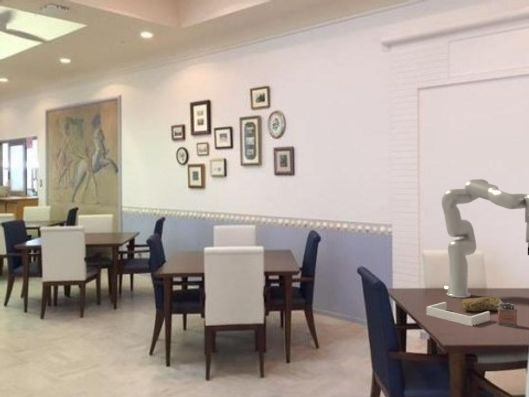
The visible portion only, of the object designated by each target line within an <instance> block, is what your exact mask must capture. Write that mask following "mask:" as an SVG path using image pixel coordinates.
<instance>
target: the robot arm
mask: <svg viewBox="0 0 529 397" xmlns="http://www.w3.org/2000/svg"><path fill="white" fill-rule="evenodd" d="M479 198H481V199H484V200H486V201H488V202H489V201H490V202H491V203H492V204H494V205H496V206H499V207H502V208H505V209H507V210H519V209H524V211H525V212H524V222H525V223H526V226H525V227H526V229H525V243H527V256H529V194H526V193H508V192H505V191H502V190H500V189H499V187H498V186H497V185H494V184H493V183H492V184H491V183H489V182H488V180H486V179H482V178H480V179H476V178H475V179H470V180H468V181H467V182H466V183H465V185H464V188H454V189H452V188H451V189H449V190H447V191H446V192H445V193H444V194H443V195H442V198H441V206H442V211H443V215H444V220H445V228H446V230H447V231H446V232H447V234H448V236H449V237H450V238H451V237H452V238H458V239H453V240H451V241H450V242H449V244H448V245H447V252H448V259H449V262H448V263H449V285H444V287H443V289H444V290H446V291H447V292H446V295H447V296H448V297H451V298H460V299H461V298H462V299H467V298H471V293H470V292H468V289H469V288H468V280H469V279H468V272H469V271H468V267H469V266H468V264H469V263H468V260H467V258H466V256H471V255H473V254H474V253H475V252H476V251H477V243H476V236H475V231H474V227H473V225H472V223H471V222H470V221H469V220H467V219H462V216H461V215H462V214H461V211H460V209H459V207H458V205H464V204H469V203H472V202H474V201H475V200H477V199H479Z"/></svg>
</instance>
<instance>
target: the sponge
mask: <svg viewBox="0 0 529 397" xmlns="http://www.w3.org/2000/svg"><path fill="white" fill-rule="evenodd" d="M499 303H504V302H503V301H502V299H501V298H498V297H492V296H482V297H476V298H475V297H473V298H471V297H466V298H463V299H462V301H461V303H460V307H461V308H462V309H464V310H465V311H469V312H482V311H495V312H498V308H502V307H503V306H499Z"/></svg>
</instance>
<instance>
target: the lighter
mask: <svg viewBox="0 0 529 397" xmlns="http://www.w3.org/2000/svg"><path fill="white" fill-rule="evenodd" d="M499 306H503V307H502V308H498V311H497V325H498V326H503V327H518V321H517V320H518V319H517V318H518V309H517V308H515V304H514V303H510V302H506V303H505V302H503V303H499Z"/></svg>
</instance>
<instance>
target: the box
mask: <svg viewBox="0 0 529 397" xmlns="http://www.w3.org/2000/svg"><path fill="white" fill-rule="evenodd" d="M447 305H448V304H447V302H446V301H443V302H439V303H436V304H431V305H428V306H426V308H425V309H426V316H429V317H434V318H438V319H441V320H445V321H449V322H454V323H457V324H462V325H465V326H469V325H470V326H469V327H473V325H474V326H477V325H480V324H482V323H485V322H488V321H490V318H491V317H490V315H491V314H490V313H491V312H490V310H486V311H484V312H480V313H477V314H475V315H472V316H471V315H465V314H460V313H457V312H453V311H448V310H447V309H448V308H447V307H448V306H447ZM476 324H477V325H476Z"/></svg>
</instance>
